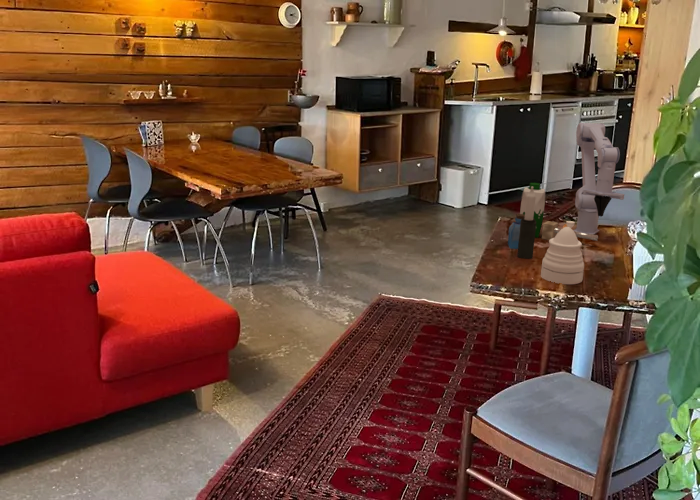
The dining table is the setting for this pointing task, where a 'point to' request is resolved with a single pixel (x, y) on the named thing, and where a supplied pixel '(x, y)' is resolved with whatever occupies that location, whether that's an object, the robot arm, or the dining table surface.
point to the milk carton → (538, 205)
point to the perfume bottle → (515, 232)
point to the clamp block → (549, 230)
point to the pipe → (581, 235)
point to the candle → (527, 229)
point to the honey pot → (563, 258)
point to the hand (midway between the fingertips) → (600, 215)
